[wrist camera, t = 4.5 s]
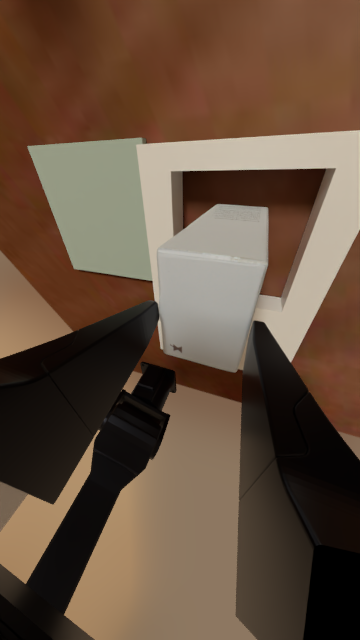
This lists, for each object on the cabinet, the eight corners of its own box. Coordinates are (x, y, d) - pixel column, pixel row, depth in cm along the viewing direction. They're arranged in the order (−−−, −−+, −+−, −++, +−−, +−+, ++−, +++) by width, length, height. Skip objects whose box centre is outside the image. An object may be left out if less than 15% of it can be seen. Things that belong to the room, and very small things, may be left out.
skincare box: (252, 276, 19) (236, 377, 10) (209, 270, 20) (160, 355, 11) (271, 203, 15) (272, 263, 6) (216, 200, 16) (150, 247, 7)
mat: (159, 279, 23) (157, 281, 22) (77, 267, 26) (74, 268, 25) (145, 138, 15) (141, 137, 15) (33, 146, 18) (27, 146, 18)
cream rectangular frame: (280, 363, 24) (281, 384, 22) (168, 336, 28) (159, 352, 26) (389, 132, 11) (419, 125, 9) (152, 146, 15) (131, 144, 13)
